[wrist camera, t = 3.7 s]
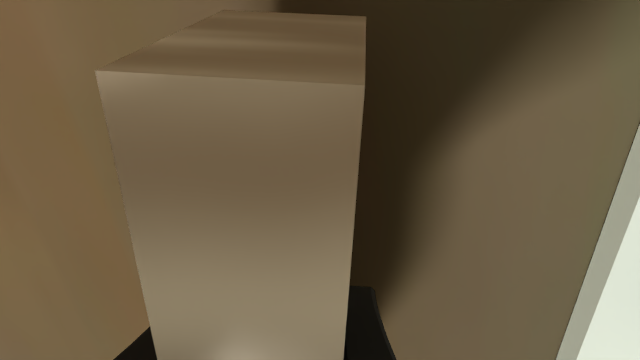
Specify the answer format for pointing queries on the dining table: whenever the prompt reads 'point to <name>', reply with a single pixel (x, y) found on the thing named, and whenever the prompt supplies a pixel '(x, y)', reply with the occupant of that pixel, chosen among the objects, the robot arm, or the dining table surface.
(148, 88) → the beech rod
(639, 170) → the fulcrum stand
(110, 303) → the dining table surface
